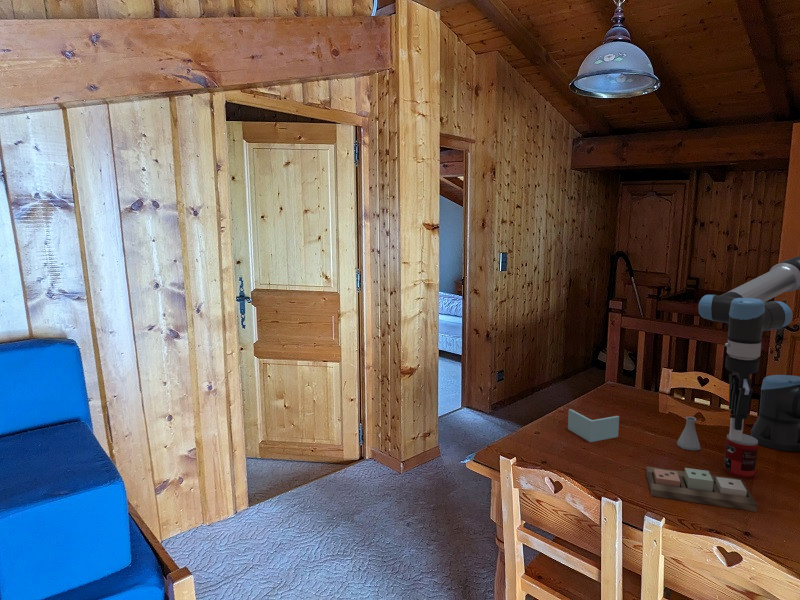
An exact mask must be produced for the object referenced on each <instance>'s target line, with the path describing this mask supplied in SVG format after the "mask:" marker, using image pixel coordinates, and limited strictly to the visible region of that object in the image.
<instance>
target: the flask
mask: <svg viewBox="0 0 800 600" xmlns="http://www.w3.org/2000/svg"><path fill="white" fill-rule="evenodd" d="M685 420H686V422H685V427H684V429H683V430H682V432H681V434H680V436H679V437H678V440H677V441H676V445H677V446H678V447H679V448H681V449H683V450H687V451H701V443H700V441H699V438H698V435H697V434H698V433H697V431H696V422H697V418H696V417H694V416H685Z"/></svg>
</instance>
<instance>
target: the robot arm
mask: <svg viewBox="0 0 800 600" xmlns="http://www.w3.org/2000/svg"><path fill="white" fill-rule="evenodd" d="M797 290H800V255H797V256H795V257H791V258H788V259H785V260H783V261H781V262H779V263H776V264H775V265H773V266H772V267H771V268H770V269H769V271H767V272H766V273H764V274H762V275H759V276H757V277H755V278H752V280H749V281H747V282H744V284H741V285H738V286H737V287H735V288H733V289H731V290H729V291H727V292H724V293H722V294H721V295H717V294H705V295H704V296H702V297H701V298H700V300H699V302H698V305H697V308H698V314H699V315H700V317H701V318H703V319H704V320H705V319H706V320H709V321H712V322H719V323H726V324H728V332H727V342H725V343H724V347H726V354H727V355H726V356H725V361H724V362H725V364H724V365H725V366H724V367H725V369H726V370H727V371H729V372H732V374H731V373H729V374H728V381H729V383H728V384H729V386H728V387H729V389H728V396H729V397H728V410H730V412H729V416H730V417H729V418H730V420H729V422H730V423H729V433H728V434H729V438H730V440H738V441H742V434H744V433H743V432H744V422H745V421H744V420H747V419H748V414H749V410H750V404H751V398H752V395H753V392H754V388H752V387H751V386H752V379H751V376H750V375H751V374H754V375H755V374H757V373H758V372H759V370H760V369H759V368H760V357H761V352H762V339H763V338H762V336H763V332H767V331H769V332H770V331H777V330H780V329H782V328H785V327H787V326H788V325H789V324H790V323H791V322H792V319H793V312H792V309H791V308H790V306H789V305H788V304H787V303H785V302H783V301H778V300H777V301H774V300H771V299H774V298H775V297H777V296H779V295H781V294H783V293H789V292H790V293H791V292H794V291H797ZM769 300H770V301H769ZM760 391H761V392H760V400H759V401H760V402H759V413H758V417H757V419H756V420H755V422H754V424H753V426H752V427H751V430H750V436H752V437H754V438H756V439H757V440H758V445H761V446H762V447H766V448H769V449H773V450H777V451H783V452H784V451H785V452H799V451H800V376H798V375H789V374H772V375H768V376H765V377H763V380H762V384H761V388H760Z"/></svg>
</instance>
